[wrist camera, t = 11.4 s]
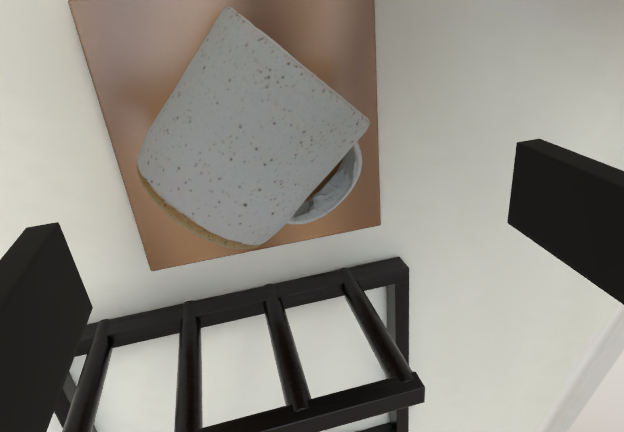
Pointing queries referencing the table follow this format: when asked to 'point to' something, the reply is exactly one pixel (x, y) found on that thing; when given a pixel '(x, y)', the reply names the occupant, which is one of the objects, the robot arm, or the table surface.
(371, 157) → the copper coaster
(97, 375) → the dish rack
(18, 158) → the table surface
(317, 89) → the ceramic mug
